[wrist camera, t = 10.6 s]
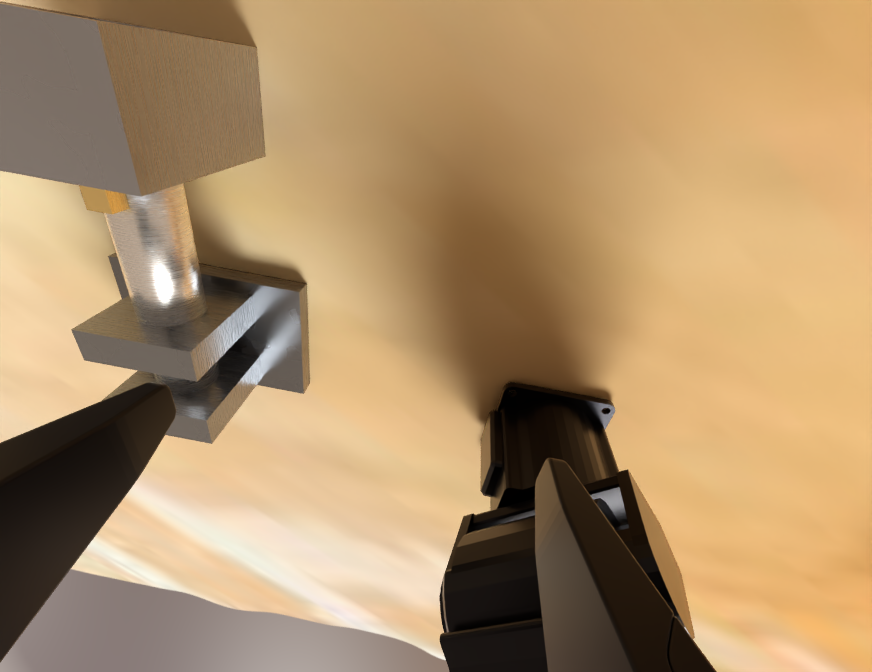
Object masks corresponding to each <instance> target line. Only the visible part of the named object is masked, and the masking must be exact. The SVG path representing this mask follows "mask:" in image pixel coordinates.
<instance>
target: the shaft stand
mask: <svg viewBox="0 0 872 672" xmlns="http://www.w3.org/2000/svg"><path fill="white" fill-rule="evenodd" d="M76 17H77V16H76ZM87 19H88V18H87ZM93 20H94V19H93ZM98 21H99V20H98ZM103 22H105V21H103ZM109 23H111V22H109ZM115 24H116V23H115ZM121 25H122V24H121ZM79 187H80V190H81V193H82V196H83V199H84V202H85V205H86V208H87V210H91V211H96V212H102V213H104V215H105V218H106V222H107V225H108V228H109V231H110V234H111V238H112V241H113V244H114V247H115V250H116V253H114V254H112V255H110V256H108V257H109V260H110V263H111V266H112V269H113V272H114V275H115V278H116V281H117V285H118V288H119V291H120V294H121V297H122V300H120V301H119V302H117V303H115V304H114V305H112V306H110V307H109V308H107V309H105V310H104V311H102V312H100V313H98V314H97V315H95V316H93V317H92V318H90V319H88V320H87V321H85V322H83V323H82V324H80V325H78V326H77V327H75V328H73V329H71V330H72V332H73V335H74V337H75V339H76V342H77V344H78V346H79V349H80V351H81V353H82V356H83V358H84V360H86V361H91V362H96V363H102V364H107V365H112V366H117V367H123V368H128V369H133V370H138V371H137V372H136V373H135V374H133V375H132V376H131V377H130V378H129V379H127V380H126V381H125V382H124V383H123V384H121V385H120V386H119V387H118V388H117V389H115V390H114V391H113V392H112V393H110V394H109V395H108V396H107V397H106V398H104V399H103V400H105V399H108V398H110V397H113V396H115V395H118V394H120V393H122V392H125V391H127V390H130V389H132V388H134V387H137V386H139V385H142V384H144V383H147V382H155V383H160V384H165V385H167V386H168V387H169V388H170V390H171V393H172V396H173V400H174V403H175V407H176V416H175V419H174V421H173V423H172V424H171V426H170V427H169V429H168V431H167V432H166V434H165V435H169V436H174V437H180V438H185V439H190V440H195V441H201V442H206V443H211V444H212V443H213V442H214V440H215V439H216V438H217V436H218V435H219V434H220V432H221V431H222V430H223V429H224V427H225V426H226V425H227V423H228V422H229V421H230V419H231V418H232V417H233V415H234V414H235V413H236V411H237V410H238V409H239V407H240V406H241V405H242V404H243V402H244V401H245V400H246V398H247V397H248V396H249V394H250V393H251V392H252V390H253V389H254V388H255V386H256V385H261V386H266V387H271V388H277V389H282V390H287V391H292V392H298V393H303V394H304V392H305V391H306V389H307V387H308V385H309V384H310V373H309V340H308V307H307V284H304V283H299V282H294V281H289V280H283V279H278V278H273V277H267V276H262V275H257V274H251V273H246V272H241V271H236V270H230V269H225V268H220V267H214V266H209V265H204V264H199V262H198V257H197V252H196V247H195V241H194V236H193V231H192V226H191V221H190V216H189V210H188V205H187V200H186V195H185V190H184V184H183V183H182V184H179V185H176V186H173V187H170V188H167V189H163V190H160V191H157V192H154V193H151V194H148V195H145V196H142V197H140V196H135V195H129V194H124V193H119V192H113V191H108V190H102V189H97V188H92V187H86V186H81V185H79ZM103 400H102V401H103Z"/></svg>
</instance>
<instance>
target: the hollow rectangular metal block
mask: <svg viewBox="0 0 872 672" xmlns="http://www.w3.org/2000/svg"><path fill="white" fill-rule="evenodd" d="M76 16H77V17H76ZM87 18H88V19H87ZM93 19H94V20H93ZM98 20H99V21H98ZM103 21H105V22H103ZM109 22H111V23H109ZM115 23H116V24H115ZM121 24H122V25H121ZM262 157H265V146H264V134H263V121H262V109H261V96H260V84H259V72H258V59H257V47H252V46H246V45H241V44H235V43H230V42H225V41H219V40H214V39H208V38H203V37H197V36H192V35H186V34H181V33H175V32H170V31H165V30H159V29H154V28H148V27H143V26H137V25H132V24H126V23H121V22H116V21H110V20H105V19H99V18H93V17H88V16H82V15H76V14H70V13H64V12H59V11H53V10H47V9H41V8H35V7H30V6H24V5H18V4H12V3H6V2H0V171H6V172H11V173H16V174H22V175H27V176H33V177H38V178H43V179H49V180H54V181H59V182H65V183H70V184H76V185H81V186H86V187H92V188H97V189H102V190H108V191H113V192H119V193H124V194H129V195H135V196H140V197H142V196H145V195H148V194H151V193H154V192H157V191H160V190H163V189H167V188H170V187H173V186H176V185H179V184H182V183H185V182H188V181H191V180H194V179H197V178H200V177H203V176H207V175H210V174H213V173H216V172H219V171H222V170H225V169H228V168H231V167H234V166H237V165H240V164H243V163H247V162H250V161H253V160H256V159H259V158H262Z"/></svg>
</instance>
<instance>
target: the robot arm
mask: <svg viewBox="0 0 872 672" xmlns="http://www.w3.org/2000/svg"><path fill="white" fill-rule="evenodd" d="M510 390H515V392H509V391H510ZM604 408H607V409H604ZM614 413H615V408H614V405H613V403H612V402H611V401H609V400H605V399H599V398H594V397H589V396H584V395H578V394H573V393H568V392H563V391H557V390H552V389H547V388H541V387H536V386H531V385H526V384H520V383H515V382H510V383H507V384H506V385H505V386H504V388H503V391H502V394H501V397H500V400H499V403H498V406H497V409H496V410H493V411H491V412H490V413H489V416H488V419H487V422H486V426H485V429H484V432H483V435H482V438H481V492H482V494H483V495H484V496H489V497H490V498H491V511H487V512H484V513H480V514H477V515H475V514H470V515H466V516H464V517H463V520H462V523H461V526H460V529H459V532H458V535H457V538H456V541H455V544H454V547H453V550H452V553H451V556H450V559H449V562H448V565H447V568H446V571H445V574H444V577H443V581H442V585H441V593H440V611H441V619H442V625H443V629H444V633H442V634H441V635H440V644H441V647H442V650H443V653H444V656H445V658H446V661H447V664H448V667H449V671H450V672H716V670H715V669H714V668H713V666H712V665H711V664H710V662H709V661H708V660H707V658H706V657H705V655H704V654H703V653H702V651H701V650H700V649H699V647H698V646H697V645H696V643H695V642H694V641H693V639H694V638H695V637H694V631H693V626H692V621H691V617H690V612H689V607H688V603H687V598H686V593H685V589H684V584H683V580H682V575H681V572H680V569H679V567H678V565H677V562H676V560H675V558H674V555H673V553H672V551H671V548H670V546H669V544H668V541H667V539H666V537H665V534H664V532H663V530H662V527H661V525H660V523H659V522H658V520H657V518H656V516H655V515H654V513H653V511H652V510H651V508H650V506H649V504H648V503H647V501H646V499H645V498H644V496H643V494H642V492H641V491H640V489H639V487H638V486H637V484H636V482H635V480H634V479H633V477H632V475H631V474H630V472H629V470H624V471H621V472H619V470H618V467H617V464H616V461H615V458H614V455H613V452H612V449H611V447H610V444H609V441H608V438H607V435H606V432H605V429H606V427H607V425H608V423H609V422H610V420H611V418H612V416H613V414H614ZM175 416H176V407H175V403H174V400H173V396H172V393H171V390H170V388H169V387H168V386H167V385H165V384H160V383H155V382H147V383H144V384H142V385H139V386H137V387H134V388H132V389H130V390H127V391H125V392H122V393H120V394H118V395H115V396H113V397H110V398H108V399H105V400H103V401H101V402H98V403H96V404H93V405H91V406H88V407H86V408H84V409H81V410H79V411H76V412H74V413H72V414H69V415H67V416H64V417H62V418H59V419H57V420H55V421H52V422H50V423H47V424H45V425H43V426H40V427H38V428H35V429H33V430H30V431H28V432H26V433H23V434H21V435H18V436H16V437H13V438H11V439H9V440H6V441H4V442H1V443H0V662H1V661H2V660H3V658H4V657H5V655H6V654H7V653H8V652H9V650H10V649H11V648H12V646H13V645H14V644H15V642H16V641H17V640H18V638H19V637H20V635H21V634H22V633H23V632H24V630H25V629H26V628H27V626H28V625H29V624H30V622H31V621H32V620H33V618H34V617H35V616H36V614H37V613H38V612H39V610H40V609H41V607H42V606H43V605H44V604H45V602H46V601H47V600H48V598H49V597H50V596H51V594H52V593H53V592H54V590H55V589H56V588H57V586H58V585H59V584H60V582H61V581H62V580H63V578H64V577H65V576H66V574H67V573H68V572H69V570H70V569H71V568H72V566H73V565H74V564H75V562H76V561H77V560H78V558H79V557H80V556H81V554H82V553H83V552H84V550H85V549H86V548H87V546H88V545H89V544H90V542H91V541H92V540H93V538H94V537H95V536H96V534H97V533H98V532H99V530H100V529H101V528H102V526H103V525H104V524H105V522H106V521H107V520H108V518H109V517H110V516H111V514H112V513H113V512H114V510H115V509H116V508H117V506H118V505H119V504H120V502H121V501H122V500H123V498H124V497H125V496H126V494H127V493H128V492H129V490H130V489H131V488H132V486H133V485H134V483H135V482H136V481H137V479H138V478H139V476H140V475H141V473H142V472H143V470H144V469H145V467H146V465H147V464H148V462H149V460H150V459H151V457H152V456H153V454H154V452H155V451H156V449H157V447H158V446H159V444H160V442H161V441H162V439H163V437H164V436H165V434H166V432H167V431H168V429H169V427H170V426H171V424H172V423H173V421H174V419H175Z"/></svg>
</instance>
